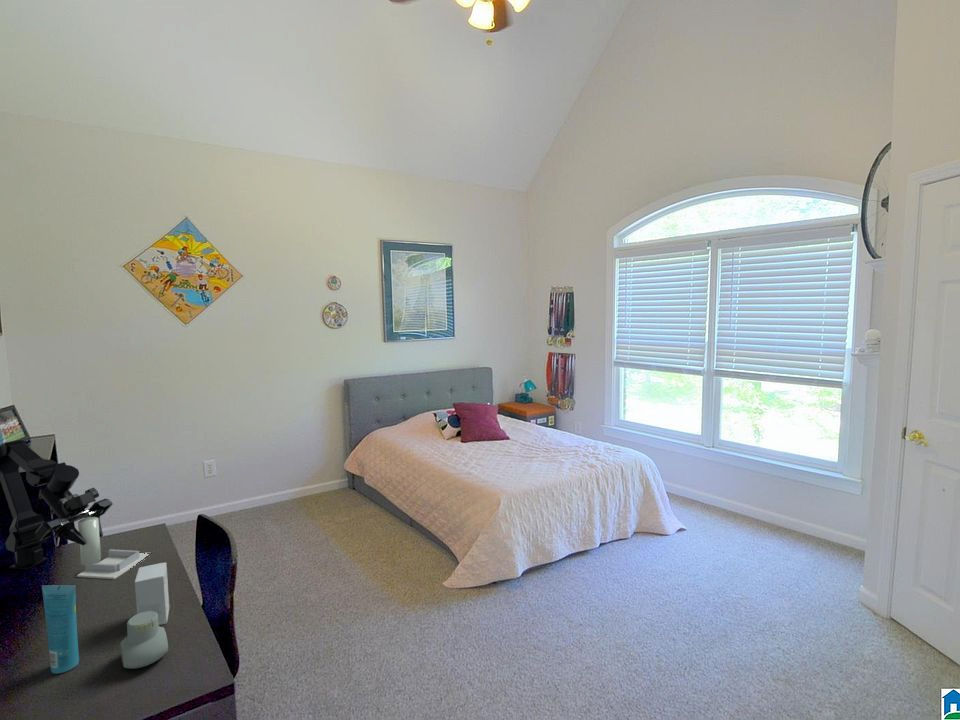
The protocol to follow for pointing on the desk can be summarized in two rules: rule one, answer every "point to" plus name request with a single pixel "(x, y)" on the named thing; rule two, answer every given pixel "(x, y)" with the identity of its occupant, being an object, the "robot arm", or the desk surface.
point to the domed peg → (90, 541)
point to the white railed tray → (113, 564)
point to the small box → (153, 591)
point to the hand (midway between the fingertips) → (93, 540)
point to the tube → (61, 626)
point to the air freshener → (143, 641)
